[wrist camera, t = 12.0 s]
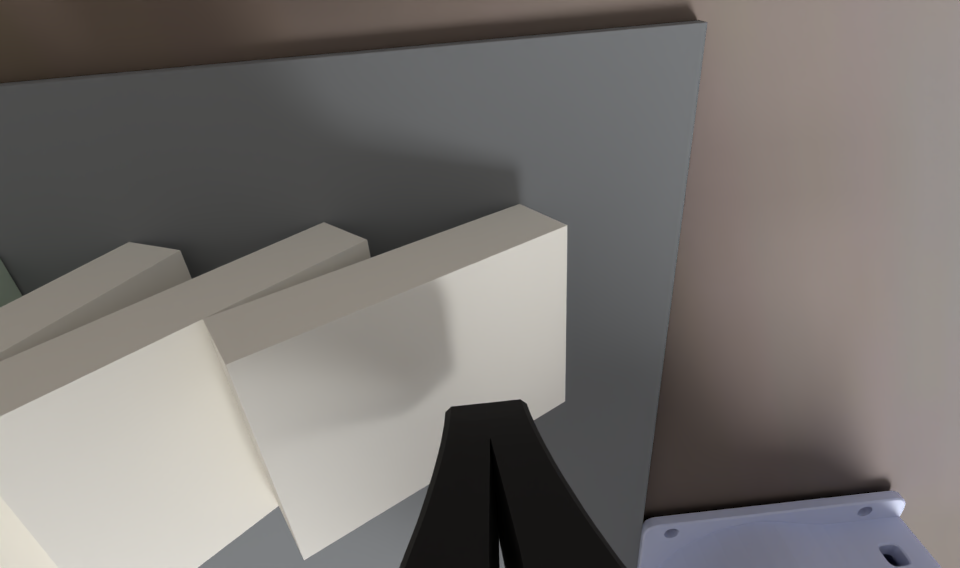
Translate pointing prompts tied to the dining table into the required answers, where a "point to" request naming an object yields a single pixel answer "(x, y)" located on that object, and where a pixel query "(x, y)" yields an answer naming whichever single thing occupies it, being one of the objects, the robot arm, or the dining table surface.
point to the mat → (394, 205)
